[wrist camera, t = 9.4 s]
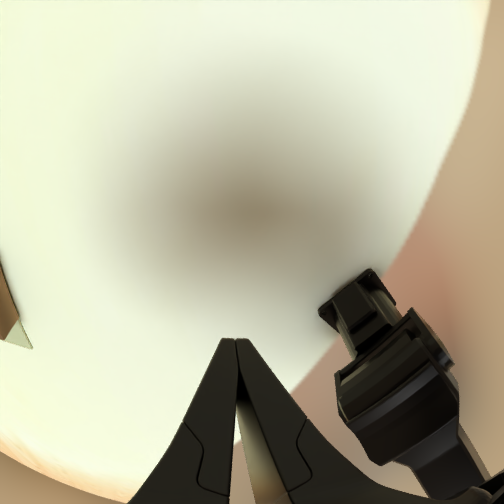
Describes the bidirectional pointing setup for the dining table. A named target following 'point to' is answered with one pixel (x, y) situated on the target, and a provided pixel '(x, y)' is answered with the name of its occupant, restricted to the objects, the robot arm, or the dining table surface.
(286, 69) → the dining table surface
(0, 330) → the slab
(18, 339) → the mat
